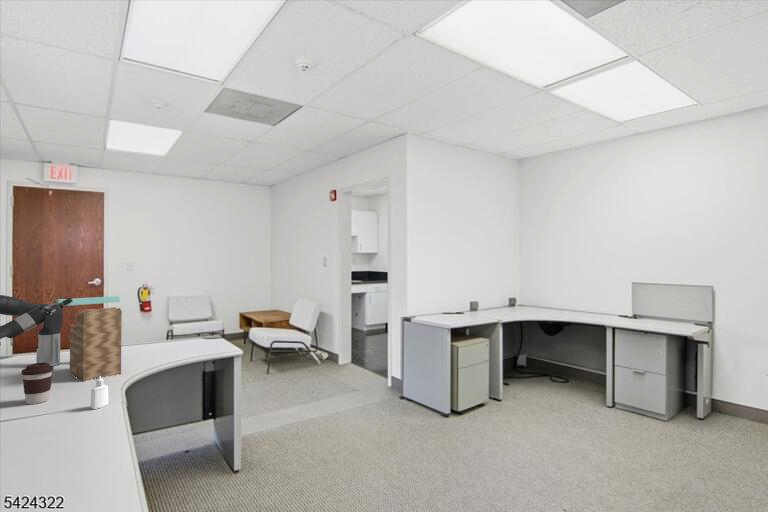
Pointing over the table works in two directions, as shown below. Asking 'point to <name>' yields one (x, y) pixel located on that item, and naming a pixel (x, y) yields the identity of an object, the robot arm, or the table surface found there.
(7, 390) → the table surface
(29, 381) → the coffee cup
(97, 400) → the eye dropper bottle
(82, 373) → the stand
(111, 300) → the block
